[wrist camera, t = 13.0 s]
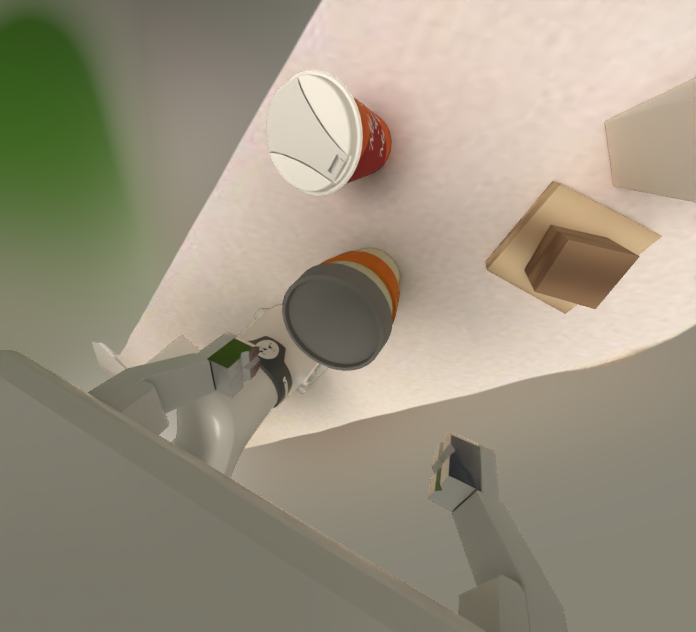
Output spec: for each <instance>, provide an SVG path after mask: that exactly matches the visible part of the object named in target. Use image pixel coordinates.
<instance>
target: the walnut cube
mask: <svg viewBox="0 0 696 632" xmlns="http://www.w3.org/2000/svg"><path fill="white" fill-rule="evenodd" d="M639 257H640V256H638V255H636V254H635V253H633V252H631V251H630V250H628V249H626V248H624V247H623V246H621V245H619V244H618V243H616V242H614V241H612V240H611V239H609V238H607V237H603V236H598V235H594V234H589V233H585V232H580V231H576V230H571V229H567V228H563V227H558V226H554V225H550V226H549V228H548V230H547V232H546V233H545V235H544V237H543V238H542V240H541V242H540V244H539V245H538V247H537V249H536V250H535V252H534V254H533V255H532V257H531V259H530V261H529V262H528V264H527V266H526V267H525V269H524V271H525V273H526V275H527V277H528V279H529V281H530V283H531V285H532V287H533V290H534V292H537V293H540V294H544V295H547V296H551V297H554V298H558V299H561V300H565V301H568V302H572V303H575V304H579V305H582V306H586V307H590V308H593V309H596V308H597V307H598V305H599V304H600V303H601V302H602V301H603V300H604V298H605V297H606V296H607V295H608V294H609V292H610V291H611V290H612V289H613V288H614V286H615V285H616V284H617V283H618V282H619V280H620V279H621V278H622V277H623V276H624V274H625V273H626V272H627V271H628V270H629V269H630V267H631V266H632V265H633V264H634V263H635V261H636V260H637V259H638V258H639Z"/></svg>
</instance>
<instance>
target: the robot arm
mask: <svg viewBox="0 0 696 632" xmlns="http://www.w3.org/2000/svg"><path fill="white" fill-rule="evenodd" d="M327 368H328V367H326V366H324V365H321V364H319V363H317V362H316V361H314V360H312V359H311V358H309V357H308V356H307V355H306V354H305V353H303V352H302V351H301V350H300V349H299V348H298V347H297V345H296V344H295V343H294V341H293V340H292V339H291V337H290V335H289V333H288V331H287V330H286V327H285V324H284V321H283V315H282V304H281V305H277V306H274V307H273V308H270V309H259V310H257V311H256V312H255V320H254V321H253V322H252V323H251V324H250V325H249V326H248V327H247V328H246V329H244V330H243V331H242V332H241V333H240V334H239V335H238V337H237V336H235V335H233V334H231V333H226V334H224V335H222V336H221V337H219V338H218V339H217V340H215V341H214V342H212V343H211V344H210V345H208V346H207V347H205V348H204V349H203V350H201V351H200V352H198V353H197V354H195V353H190V354H186V355H182V356H178V357H174V358H170V359H165V360H161V361H157V362H153V363H149V364H144V365H140V366H136V367H132V368H128V369H125V370H124V371H122V372H120V373H119V374H117V375H115V376H114V377H112V378H110V379H109V380H107V381H106V382H104V383H102V384H101V385H99V386H97V387H96V388H94V389H93V390H91V391H89V392H88V393H87V392H85V391H84V390H82V389H80V388H79V387H77V386H75V385H74V384H72V383H70V382H69V381H67V380H65V379H64V378H62V377H60V376H59V375H57V374H55V373H53V372H52V371H50V370H49V369H47V368H45V367H43V366H42V365H40V364H38V363H37V362H35V361H33V360H32V359H30V358H29V357H27V356H25V355H24V354H22V353H20V352H17V351H14V350H0V632H568V628H567V624H566V619H565V614H564V609H563V606H562V604H561V602H560V600H559V599H558V597H557V595H556V593H555V592H554V590H553V588H552V586H551V585H550V583H549V581H548V580H547V578H546V576H545V574H544V572H543V570H542V569H541V567H540V565H539V563H538V562H537V560H536V558H535V556H534V555H533V553H532V551H531V549H530V548H529V546H528V544H527V543H526V541H525V539H524V537H523V535H522V534H521V532H520V530H519V528H518V527H517V525H516V523H515V521H514V520H513V518H512V516H511V514H510V513H509V511H508V509H507V507H506V505H505V504H504V503H502V502H500V500H499V489H498V479H497V467H496V457H495V453H494V451H493V450H491V449H488V448H486V447H484V446H482V445H479V444H477V443H476V442H473V441H471V440H468V439H466V438H464V437H462V436H459V435H457V434H455V433H452V432H450V431H449V432H448V433H447V434H446V435H445V438H444V442H442V443H440V444H439V445H438V447H437V448H436V451H435V454H434V457H433V462H432V469H433V471H434V476H433V477H432V478H431V479H430V486H429V494H428V499H429V500H431V501H432V502H434V503H436V504H438V505H440V506H442V507H443V508H445V509H447V510H449V511H451V512H453V513H452V516H453V519H454V522H455V525H456V527H457V530H458V533H459V536H460V539H461V542H462V545H463V548H464V551H465V554H466V557H467V559H468V562H469V565H470V568H471V571H472V574H473V577H474V580H475V583H476V587H474V588H472V589H469V590H467V591H465V592H463V593H461V594H460V595H459V610H458V614H457V613H455V612H454V611H452V610H450V609H448V608H447V607H445V606H444V605H442V604H440V603H439V602H436V601H435V600H433V599H432V598H430V597H429V596H427V595H425V594H424V593H422V592H420V591H418V590H417V589H415V588H413V587H412V586H410V585H408V584H407V583H405V582H403V581H402V580H400V579H398V578H397V577H395V576H393V575H392V574H390V573H388V572H387V571H385V570H383V569H382V568H380V567H378V566H377V565H375V564H373V563H372V562H370V561H368V560H367V559H365V558H363V557H362V556H360V555H358V554H357V553H355V552H353V551H352V550H350V549H348V548H347V547H345V546H343V545H341V544H340V543H338V542H336V541H335V540H333V539H331V538H330V537H328V536H326V535H325V534H323V533H321V532H320V531H318V530H316V529H315V528H313V527H311V526H310V525H308V524H306V523H305V522H303V521H301V520H300V519H298V518H296V517H295V516H293V515H291V514H290V513H288V512H286V511H285V510H283V509H281V508H280V507H278V506H276V505H274V504H273V503H271V502H269V501H268V500H266V499H264V498H263V497H261V496H260V495H258V494H256V493H255V492H253V491H251V490H249V489H248V488H246V487H244V486H243V485H241V484H239V483H238V482H236V481H234V480H233V479H231V475H232V473H233V470H234V468H235V466H236V463H237V461H238V459H239V457H240V455H241V453H242V451H243V449H244V448H245V446H246V444H247V443H248V441H249V440H250V438H251V437H252V435H253V434H254V433H255V431H256V430H257V428H258V427H259V426H260V424H261V423H262V422H263V420H264V419H265V418H266V416H267V415H268V414H269V412H270V411H271V410H272V408H275V407H276V406H278V405H279V404H280V403H281V402H282V401H283V400H284V399H285V398H287V397H289V396H290V395H291V394H292V393H293V392H294V391H295V390H297V391H298V392H300V393H301V394H303V393H304V392H305V391H306V389H307V388H308V387H309V386H310V385H311V384H312V383H313V382H314V381H315V380H316V379H317V378H318V377H319V376H320V375H321V374H322V373H323V372H324V371H325V370H326V369H327ZM174 409H177V435H176V438H175V442H174V444H173V443H171V442H169V441H167V440H166V439H164V438H162V437H161V436H159V434H160V433H161V432H163V431H164V430H165V429H166V428H167V427H168V426H169V421H168V419H167V416H166V414H165V413H167V412H170V411H172V410H174Z"/></svg>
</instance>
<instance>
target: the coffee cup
mask: <svg viewBox="0 0 696 632" xmlns="http://www.w3.org/2000/svg"><path fill="white" fill-rule="evenodd" d="M266 133H267V142H268V148H269V153H270V156H271V159H272V161H273V163H274V165H275V167H276V168H277V170H278V171H279V173H280V174H281V175H282V177H283V178H284V179H285V180H286V181H287V182H289V183H290V184H291V185H292V186H294V187H296V188H297V189H298V190H300V191H302V192H304V193H306V194H309V195H314V196H324V195H328V194H331V193H334V192H336V191H337V190H339V189H340V188H342V187H343V186H344V185H345V184H346V183H349V182H351V181H354V180H356V179H359V178H362V177H364V176H367V175H369V174H371V173H373V172H375V171H377V170H378V169H380V168H381V167H382V166H383V165H384V163H385V162H386V160H387V158H388V156H389V153H390V149H391V137H390V133H389V130H388V127H387V126H386V124H385V123H384V122H383V120H382V119H381V118H379V117H378V116H377V115H376V114H375V113H373V112H372V111H371V110H370V109H368V108H367V107H366V106H364V105H363V104H362V103H360V102H359V101H358V100H356V99H355V98H354V97H353V96H352V94H351V93H350V91H349V90H348V88H347V87H346V86H345V85H344V84H343V83H342V82H341V81H340V80H339V79H338V78H336V77H335V76H334V75H332V74H330V73H327V72H325V71H321V70H307V71H303V72H300V73H298V74H296V75H294V76H293V77H292V78H291V79H289V80H288V81H287V82H286V83H285V84H283V85H282V86H281V87H280V88H279V89H278V90H277V91H276V92H275V94H274V95H273V97H272V100H271V103H270V106H269V110H268V115H267V123H266Z"/></svg>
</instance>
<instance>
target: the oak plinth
mask: <svg viewBox="0 0 696 632" xmlns="http://www.w3.org/2000/svg"><path fill="white" fill-rule="evenodd" d="M550 225H554V226H558V227H563V228H567V229H571V230H576V231H580V232H585V233H589V234H594V235H598V236H603V237H607V238H609V239H611V240H612V241H614V242H616V243H618V244H619V245H621V246H623V247H624V248H626V249H628V250H630V251H631V252H633V253H635V254H636V255H639V254H640V253H642V252H643V251H644V250H645V249H647V248H648V247H649V246H650V245H652V244H653V243H654V242H655V241H657V240H658V239H659V238H660V237H661V235H659V234H657V233H656V232H654V231H652V230H650V229H648V228H646V227H644V226H642V225H640V224H638V223H636V222H634V221H632V220H630V219H628V218H626V217H625V216H623V215H621V214H619V213H617V212H615V211H613V210H611V209H609V208H607V207H605V206H603V205H601V204H599V203H597V202H596V201H594V200H592V199H590V198H588V197H586V196H584V195H582V194H580V193H578V192H576V191H574V190H572V189H570V188H568V187H566V186H565V185H563V184H560V183H557V182H552V183H551V184H550V185H549V186H548V188H547V189H546V190H545V191H544V192H543V194H542V195H541V196H540V197H539V198H538V200H537V201H536V202H535V203H534V204H533V206H532V207H531V208H530V209H529V210H528V212H527V213H526V214H525V215H524V216H523V218H522V219H521V220H520V221H519V222H518V224H517V225H516V226H515V227H514V228H513V230H512V231H511V232H510V233H509V234H508V236H507V237H506V238H505V239H504V240H503V242H502V243H501V244H500V245H499V246H498V248H497V249H496V250H495V251H494V252H493V254H492V255H491V256H490V257H489V258H488V260H487V261H486V267H487V270H488V271H490V272H491V273H493V274H495V275H497V276H499V277H500V278H502V279H504V280H506V281H508V282H509V283H511V284H513V285H515V286H516V287H518V288H520V289H522V290H524V291H525V292H527V293H529V294H531V295H532V296H534V297H536V298H538V299H540V300H541V301H543V302H545V303H547V304H548V305H550V306H552V307H554V308H556V309H557V310H559V311H561V312H563V313H564V314H566V313H567V312H568V311H569V310H571V309H572V308H573V307H574V306H576V305H577V304H575V303H572V302H568V301H565V300H561V299H558V298H554V297H551V296H547V295H544V294H540V293H537V292H534V290H533V287H532V285H531V283H530V281H529V279H528V277H527V275H526V273H525V271H524V269H525V267H526V266H527V264H528V262H529V261H530V259H531V257H532V255H533V254H534V252H535V250H536V249H537V247H538V245H539V244H540V242H541V240H542V238H543V237H544V235H545V233H546V232H547V230H548V228H549V226H550Z"/></svg>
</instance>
